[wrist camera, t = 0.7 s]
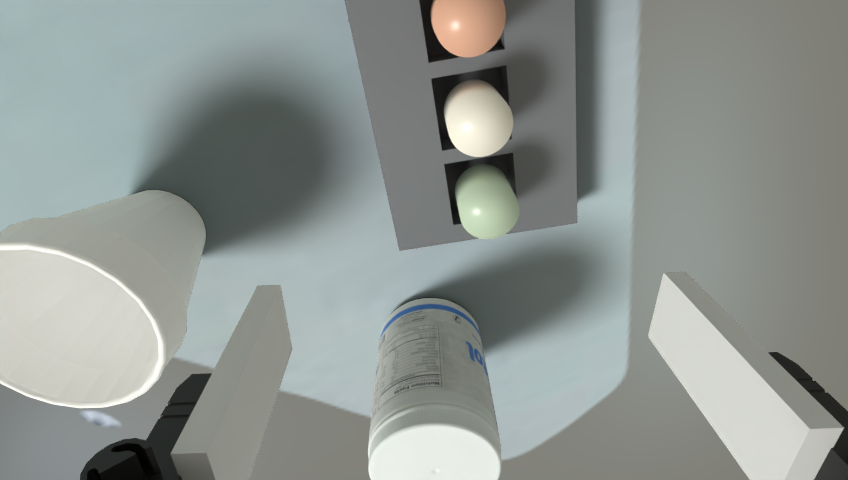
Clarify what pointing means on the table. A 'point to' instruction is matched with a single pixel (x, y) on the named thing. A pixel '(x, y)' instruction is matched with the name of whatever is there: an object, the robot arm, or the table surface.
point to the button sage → (486, 202)
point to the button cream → (477, 118)
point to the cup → (97, 298)
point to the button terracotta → (468, 25)
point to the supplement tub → (432, 398)
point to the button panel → (425, 123)
